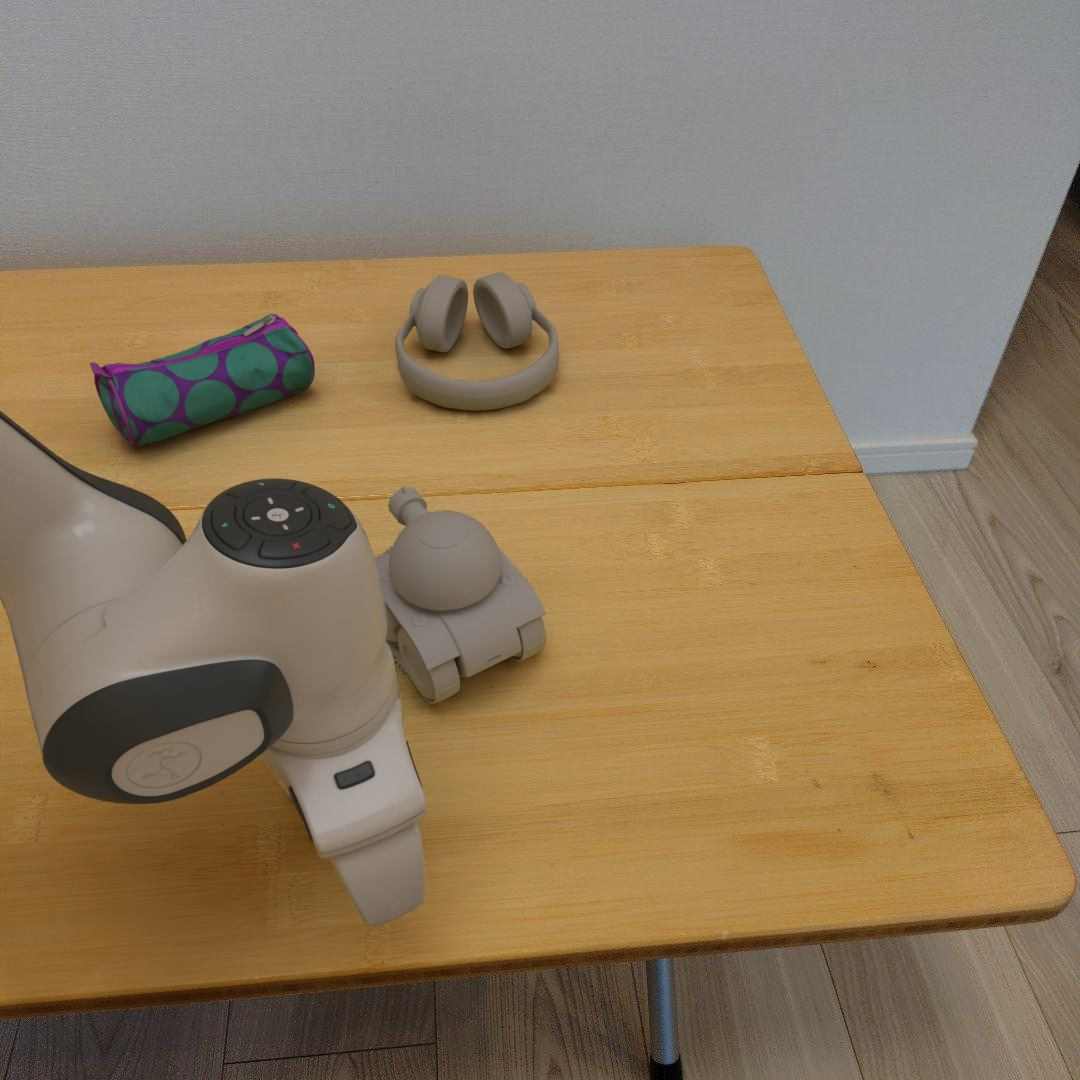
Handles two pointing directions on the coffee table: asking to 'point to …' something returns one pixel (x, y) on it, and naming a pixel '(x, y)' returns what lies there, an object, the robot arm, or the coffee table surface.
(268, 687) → the robot arm
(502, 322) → the headphones
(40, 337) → the coffee table surface
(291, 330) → the pencil case
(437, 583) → the toy tank
